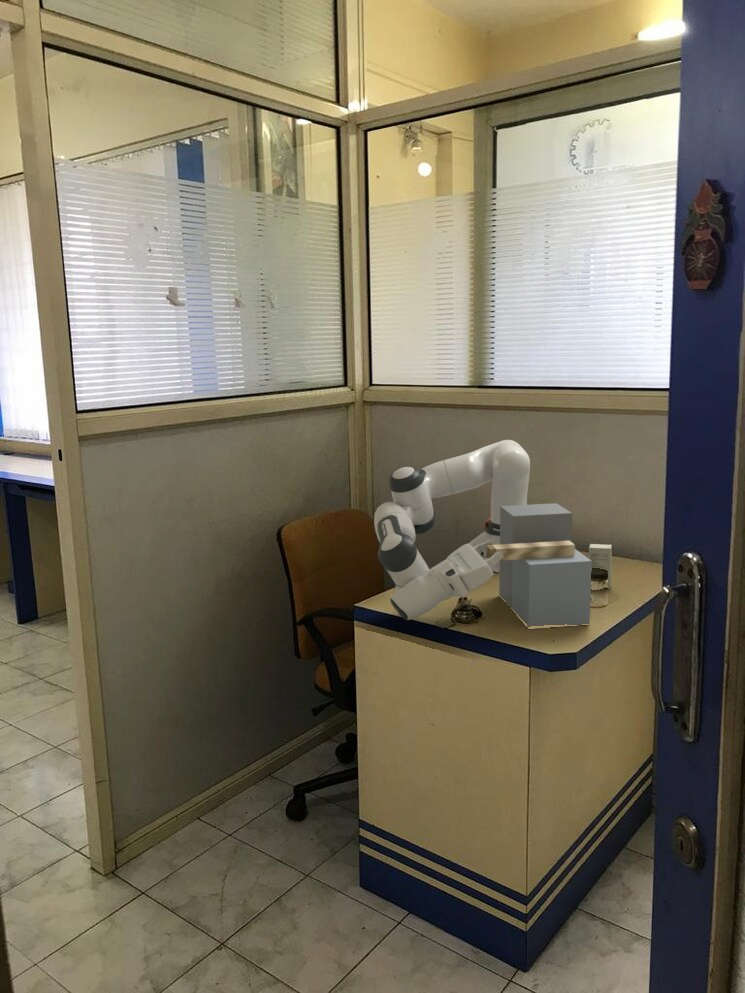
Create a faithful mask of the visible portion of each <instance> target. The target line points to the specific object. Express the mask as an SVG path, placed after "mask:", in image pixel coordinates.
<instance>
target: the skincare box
mask: <svg viewBox="0 0 745 993" xmlns="http://www.w3.org/2000/svg"><path fill="white" fill-rule="evenodd" d="M588 546H589V547H588V559H590V560H591V561H592V568H600V569H605V570H607V571H608V583H607V585H608V589H609V590H610V589H611V587H612V565H613V564H612V559H613V558H612V557H613V556H612V555H613V552H612V550H613V549H612V548H613V547H612V544H605V543H604V544H603V543H602V544H598V543H590V544H589V545H588ZM608 589H607V590H608Z"/></svg>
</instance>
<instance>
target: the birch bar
mask: <svg viewBox="0 0 745 993" xmlns="http://www.w3.org/2000/svg"><path fill="white" fill-rule="evenodd" d="M575 549H576V545H575V543H573V542H572V541H571V542H570V541H553V542H535V543H518V544H500V545H486V557H487V558H491V557H492V556H493V555H494V554H493V553H495V552H497V551H501V552H502V554H503V555H504V557H503V558H502V559H501V560H516V559H533V558H550V557H566V556H575ZM499 561H500V560H499Z"/></svg>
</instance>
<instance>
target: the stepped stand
mask: <svg viewBox="0 0 745 993" xmlns="http://www.w3.org/2000/svg"><path fill="white" fill-rule="evenodd" d="M572 527H573V513H572V512H571V511H570V510H569V509H567V508H565V507H563V506H561V505H560V504H558V503H557V502H555V503H536V504H535V503H534V504H533V503H532V504H527V505H512V506H500V544H518V543H535V542H553V541H570V542H572V538H573V537H572V536H573V535H572V534H573V531H572V530H573V528H572ZM591 572H592V561H591V560H590V559H589V557H587V556H586V555H584V554H583V553H582V552H580V551H579V550H577V549H576V548H575V556H566V557H550V558H533V559H516V560H500V569H499V572H498V573H499V577H498V578H499V582H498V583H499V584H498V587H499V588H498V592H499V593H498V596H499V595H500V596H501V597H502V598H503V599H504V600H505V601H506V603H507V604H508V605H509V606H510V607H511V608H512V609H513V610H514V611H515V612H516V614H518V616H519V617H520V618H521V619H522V620H523V621H524V622H525V623H526V624H527V626H528V627H531V626H544V625H565V624H567V625H582V624H590V620H591V619H590V618H591V598H592V595H591V592H592V588H591ZM500 596H499V597H500ZM506 603H505V604H506ZM507 604H506V605H507ZM590 625H591V624H590Z"/></svg>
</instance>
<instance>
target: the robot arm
mask: <svg viewBox="0 0 745 993" xmlns="http://www.w3.org/2000/svg"><path fill="white" fill-rule="evenodd" d="M530 469H531V460H530V456H529V454H528V453H527V451H526V450H525V449H524V448H523V447H522V446H521V444H519V443H518V442H516V441H515V440H511V439H503V440H500V441H497V442H495V443H492V444H489V445H486V446H483V447H480V448H478V449H476V450H473V451H471V452H467V453H464V454H460V455H458V456H455V457H450V458H447V459H444V460H440V461H436V462H434V463H431V464H429V465H427V466H423V468H419V467H416V466H413V465H412V466H411V465H405V466H401V467H399V468H397V469H395V470H394V471H392V473H391V474H390V475H389V477H388V484H389V485H388V487H389V489H390V491H391V492H390V493H391V497H392V501H386V502H383V503H381V504H380V505H379V506H378V507H377V508H376V510H375V512H374V516H373V517H374V518H373V520H374V523H373V524H374V531H375V534H376V537H377V540H378V542H379V547H378V552H377V559H378V561H379V562H380V564H381V565H382V566H383V568H384V569H385V570H386V572H387V573H388V575H389V576H390V577H391V579H392V581H393V582H394V585H395V590H394V593H393V594H392V595H391V596H390V597H389V601H390V603H391V605H392V607H393V608H394V610H395V611H396V613H397V614H398V615H399V616H400V618H402V619H404V620H405V621H410V620H411V621H412V620H414V619H416V618H419V617H421V616H423V615H425V614H426V613H429V612H430V611H431V610H433V609H435V608H436V607H437V606H438V605H439V604H440V603H441V602H443V601H447V600H449V599H451V598H452V597H457V598H458V597H459V598H467V597H468V596H469V595H470V592H472V591H474V590H477V588H479V587H481V586H482V585H484V584H485V583H487V582H488V581H490V580H491V579H492V578H493V576H494V573H495V572H496V573H499V569H500V561H499V560H501V559H502V558H503V557H504V555H503V554H502V552H501V551H497V552H495V553H493V554H494V555H493V556H492V557H491V558H487V557H486V545H500V506H512V505H528V491H529V481H530V472H531V470H530ZM489 482H492V483H491V484H492V485H491V494H490V517H488V519H486V520H485V522H484V524H483V529H484V531H483V532H482V533H480V534H479V535H478V536H476V537H475V538H474V539H472V540H471V541H469V543H465V544H463V545H461V546H460V547H458V548H457V549H455V550H454V551H452V552H451V554H449V555H448V556H447V557H446V559H444V560H442V561H440V562H439V563H437V564H435V565H434V566H433V567H431V568H429V566H428V564H427V562H426V561H425V560H424V558H423V557H422V554H421V553H420V552H419V550H418V549H417V546H416V543H415V541H416V536H418V535H419V536H420V535H423V534H427V533H428V532H430V531H431V530H432V529H433V528H434V527H435V525H436V511H434V506H433V502H432V501H433V500H432V499H435V498H442V497H447V496H451V495H452V496H453V495H456V494H459V493H463V492H467V491H469V490H470V491H471V490H474V489H477V488H479V487H481V486H483V485H485V484H488V483H489Z"/></svg>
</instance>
